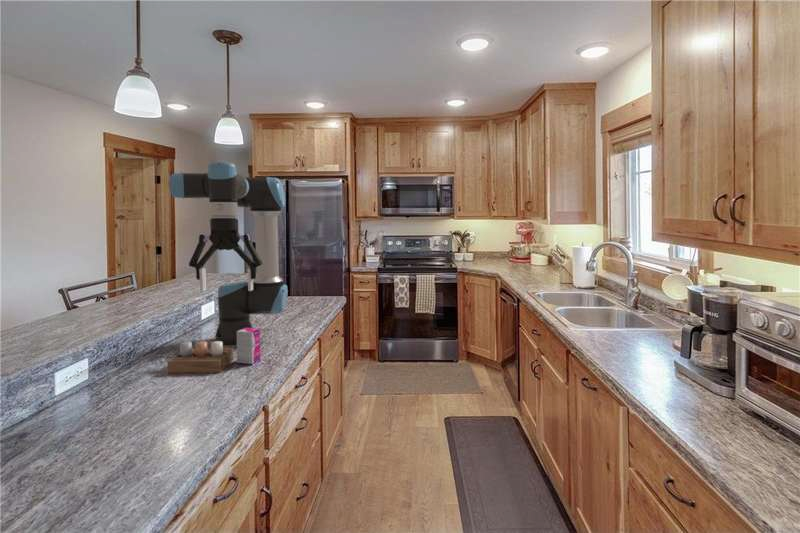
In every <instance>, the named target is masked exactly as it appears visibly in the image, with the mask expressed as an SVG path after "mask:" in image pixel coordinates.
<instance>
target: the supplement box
mask: <svg viewBox="0 0 800 533" xmlns="http://www.w3.org/2000/svg"><path fill="white" fill-rule="evenodd" d="M260 361H261V328H258V327H253V328H243V329H241V330H239V331H237V344H236V363H237V365H239V366H241V365H242V366H253V365H254V364H256V363H258V362H260Z"/></svg>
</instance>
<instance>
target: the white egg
mask: <svg viewBox="0 0 800 533" xmlns="http://www.w3.org/2000/svg"><path fill="white" fill-rule="evenodd" d="M223 345H224V344H223V342H222V341H215V340H214V341H211V343H210V349H211V356H223V348H224V346H223Z"/></svg>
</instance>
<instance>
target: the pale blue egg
mask: <svg viewBox="0 0 800 533" xmlns="http://www.w3.org/2000/svg"><path fill="white" fill-rule="evenodd" d="M192 342H193V341H182V342H179V351H180V352H179V353H180V357H191V356H192V349H193V343H192Z"/></svg>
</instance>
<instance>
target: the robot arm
mask: <svg viewBox="0 0 800 533" xmlns="http://www.w3.org/2000/svg"><path fill="white" fill-rule="evenodd" d="M168 190H169V192H170V194H171V196H172V197H173V198H176V199H197V200H209V203H208V204H209V205H208V206H209V216H210V217H212V218H210V220H209V221H210V222H209V224H210V225H209V226H210V227H209V228H210V235H207V234H205V233H203V234H199V236H198V243H197V245H196V247H195V249H194V252H193V254H192V256H191V258H190V261H189V263H188V266H189V267H191V268H194V269H195V273H196V279H197V281H198V280H199V288H200V289H199V290H200V292H205V291H207V273H206V271H207V270H206V268H205V267H204V266H205V264H206V263H207V262H208V261H209V260H210V258H211V257H212V256H213V255H214V253H215V252H216V251H224V250H227V251H231V250H233V251H234V252H235V253H237V255H239V257H240V258H241V259H242V260H243V261H244V262H245V264H247V266H248V267H249V268H247V269H246V270H247V280H246V281H244V280H243V281H234V282H228V283H225V284H222V285H220V286H219V287H218V288H217V303H218V304H217V305H218V324H217V328H216V332H215V335H214V339H215V340H214V342H215V341H222V342H223V345H237V331H239V330H241V329H243V328H254V326H253V325H252V322H251V316H250V315H265V314H266V315H267V314H268V315H275V314H276V315H277V314H282V313H283V312H284V310H285V308H286V305H287V302H288V301H287V300H288V295H289V294H288V292H289V290H288V285H287V284H284V280H283V278H282V277H281V276H280V265H279V229H278V217H279V215H280V214H281V213H282V209H283V208H285V207H286V195H285V189H284V186H283V183H282V181H281V179H280V178H278V177H270V176H262V177H261V176H259V177H258V176H257V177H255V176H253V177H251V176H250V177H247V176H246V177H244V176H243V175H242V174H239V173H238V172H237V168H236V165H235V164H234V163H231V162H227V161H225V162H223V161H222V162H221V161H216V162H210V163H209V164H208V165H207V173H205V172H204V173H203V172H202V173H201V172H200V173H199V172H191V173H189V172H188V173H187V172H178V173H177V172H175V173H172V174H170V176H169V179H168ZM238 208H249V209H250V213H251V214H252V215H253V216H254V231H255V232H254V233H255V234H254V235H255V246H254V244H253V243H252V239H251V234H249V233H247V234H242V235H241V234H240V233H239V219H238V218H237V217H238V216H239V213H238V212H239V211H238ZM209 241H210V242H211V243H212V244H211V245H210V246H209V248H208V250H206V252H205V253H204V255H202V253H203V251H204V248H205V246H206V244H207V243H208V242H209ZM240 241H241V242H242V243H244V245H245V247H246V249H247V251H248V252H249V254H250V256H251V257H250V256H249V255H248V254H247V252H245V251H244V250H243V247H241V245H240V244H239V242H240ZM201 255H202V257H201ZM199 259H200V260H199Z"/></svg>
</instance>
